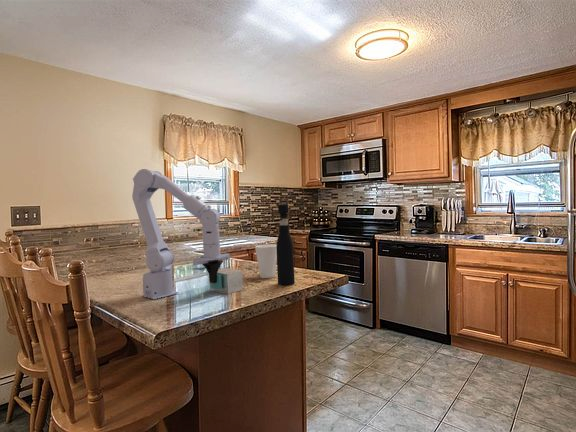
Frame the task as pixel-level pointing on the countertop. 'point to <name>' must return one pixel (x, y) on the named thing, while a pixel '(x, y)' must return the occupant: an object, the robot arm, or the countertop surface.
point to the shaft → (217, 283)
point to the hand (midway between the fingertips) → (213, 282)
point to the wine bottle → (284, 250)
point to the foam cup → (266, 260)
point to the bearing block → (230, 281)
